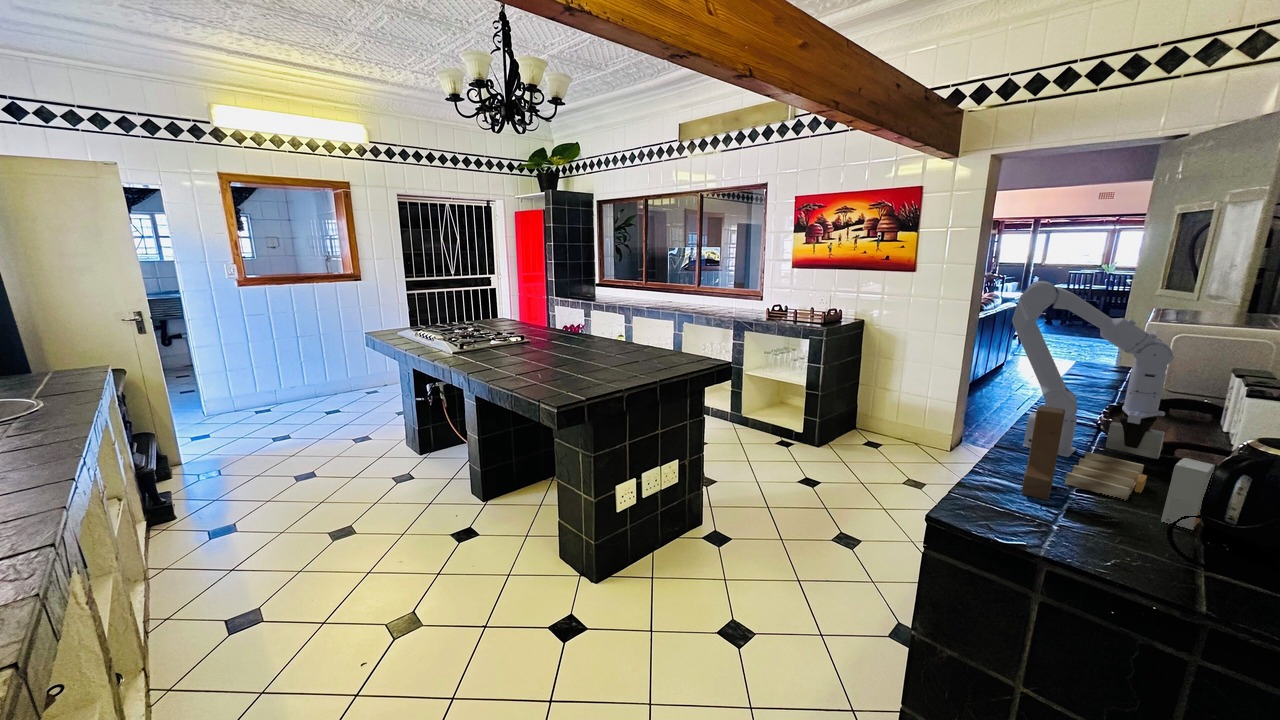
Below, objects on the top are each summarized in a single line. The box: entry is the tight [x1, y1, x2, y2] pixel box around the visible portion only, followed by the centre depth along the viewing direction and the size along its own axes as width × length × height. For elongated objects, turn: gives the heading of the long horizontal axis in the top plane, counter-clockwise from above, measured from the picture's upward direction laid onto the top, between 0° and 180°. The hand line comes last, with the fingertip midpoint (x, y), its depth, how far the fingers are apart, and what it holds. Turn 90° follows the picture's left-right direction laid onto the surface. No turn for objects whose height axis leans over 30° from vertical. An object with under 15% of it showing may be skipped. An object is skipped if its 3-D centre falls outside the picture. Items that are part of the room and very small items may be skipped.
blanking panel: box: [1104, 421, 1166, 460], centre depth 117 cm, size 9×3×6 cm, turn 38°
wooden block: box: [1021, 405, 1065, 501], centre depth 105 cm, size 9×4×18 cm, turn 137°
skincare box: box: [1160, 457, 1216, 531], centre depth 92 cm, size 6×4×12 cm
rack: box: [1064, 451, 1148, 501], centre depth 110 cm, size 11×18×3 cm, turn 128°
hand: (1132, 445), depth 118 cm, fingers closed on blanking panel, 3 cm apart
